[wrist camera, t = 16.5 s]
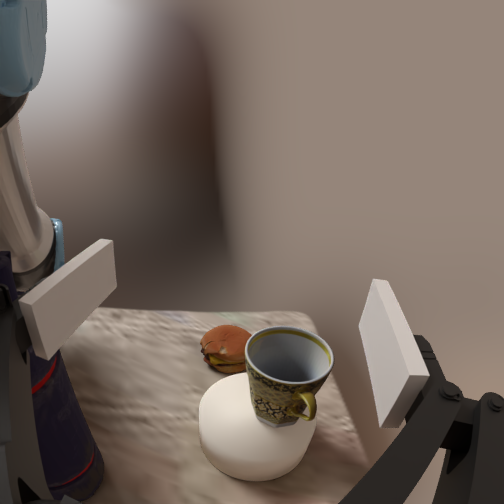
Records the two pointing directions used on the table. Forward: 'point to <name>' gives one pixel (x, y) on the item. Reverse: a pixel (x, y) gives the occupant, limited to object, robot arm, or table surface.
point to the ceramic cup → (286, 373)
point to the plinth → (248, 434)
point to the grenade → (59, 420)
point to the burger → (225, 348)
